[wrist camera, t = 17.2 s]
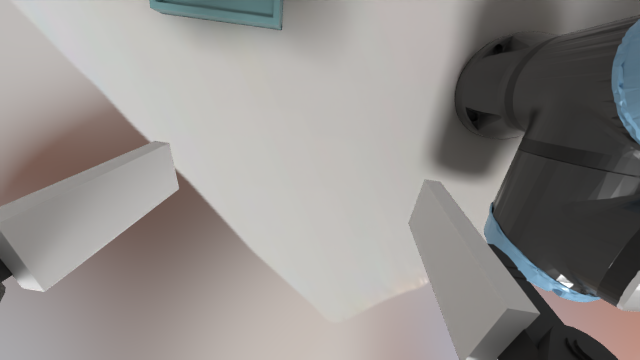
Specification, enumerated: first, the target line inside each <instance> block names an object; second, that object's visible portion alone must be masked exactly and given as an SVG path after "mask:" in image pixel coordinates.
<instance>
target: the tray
mask: <svg viewBox="0 0 640 360" xmlns="http://www.w3.org/2000/svg"><path fill="white" fill-rule="evenodd" d="M149 1H150V8H152V9H154V10H156V11H158V12H160V13H162V14H169V15H176V16H183V17H190V18H198V19H205V20H212V21H220V22H227V23H234V24H241V25H249V26H256V27H263V28H270V29H278V30H282V15H283V0H149Z"/></svg>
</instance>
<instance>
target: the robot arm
mask: <svg viewBox="0 0 640 360" xmlns="http://www.w3.org/2000/svg"><path fill="white" fill-rule="evenodd" d="M455 106H456V111H457V114H458V116H459V118H460V120H461V122H462V123H463V124H464V126H465V127H466V128H467V129H469V130H470V131H472V132H473V133H475V134H478V135H481V136H485V137H489V138H494V139H507V138H513V137H519V136H523V139H522V141H521V143H520V145H519V147H518V150H517V152H516V154H515V156H514V158H513V161H512V163H511V165H510V167H509V169H508V172H507V174H506V176H505V178H504V180H503V182H502V185H501V187H500V189H499V191H498V193H497V196H496V198H495V200H494V201H493V202H492V203H491V205H490V210H489V211H490V213H489V216H488V219H487V221H486V224H485V227H484V235H485V237H486V240H487V243H486V241H485V240H484V239H483V237H482V236H481V235H480V233H479V232H478V231H477V229H476V228H475V227H474V226H473V224H472V223H471V222H470V220H469V219H468V218H467V216H466V215H465V214H464V212H463V211H462V210H461V208H460V207H459V206H458V204H457V203H456V202H455V200H454V199H453V198H452V197H451V195H450V194H449V193H448V191H447V190H446V189H445V187H444V186H443V185H442V183H441V182H438V181H431V180H424V183H423V185H422V188H421V191H420V193H419V196H418V199H417V201H416V204H415V207H414V210H413V212H412V215H411V218H410V220H409V223H408V224H409V226H410V229H411V232H412V234H413V237H414V240H415V242H416V245H417V248H418V250H419V253H420V256H421V259H422V261H423V264H424V267H425V269H426V272H427V275H428V277H429V280H430V283H431V285H432V288H433V291H434V293H435V296H436V299H437V302H438V304H439V307H440V310H441V312H442V315H443V318H444V320H445V323H446V326H447V328H448V331H449V334H450V336H451V339H452V342H453V344H454V347H455V350H456V353H457V355H458V358H459V360H497V359H498V360H618V359H617V358H616V356H614V355H613V354H612V353H611V352H610V351H609V350H608V349H607V348H606V347H605V346H603V345H602V344H601V343H599V342H598V341H597V340H595V339H594V338H592V337H591V336H589V335H588V334H586V333H584V332H582V331H580V330H578V329H576V328H574V327H570V326H566V325H564V323H563V322H562V321H561V320H560V319H559V318H558V316H557V315H556V314H555V312H554V311H553V310H552V309H551V308H550V306H549V305H548V304H547V303H546V302H545V300H544V299H543V298H542V297H541V295H540V294H539V293H538V292H537V290H536V289H535V288H534V287H533V286H532V284H534V285H536V286H538V287H540V288H542V289H544V290H546V291H550V290H552V291H553V292H554V293H556V294H557V295H558V296H559V297H563V298H565V299H568V300H572V301H577V302H590V301H593V300H598V299H603V300H605V301H607V302H608V303H610V304H612V305H614V306H615V307H617V308H619V309H621V310H623V311H639V312H640V15H637V16H634V17H630V18H626V19H622V20H618V21H614V22H611V23H607V24H603V25H599V26H595V27H592V28H588V29H584V30H580V31H576V32H572V33H569V34H565V35H554V34H547V33H541V32H520V33H515V34H512V35H509V36H506V37H503V38H500V39H497V40H495V41H493V42H491V43H489V44H488V45H486V46H485V47H483V48H482V49H481V50H480V51H478V52H477V53H476V54H475V55H474V56H473V57H472V59H471V60H470V61H469V62H468V64H467V65H466V67H465V68H464V70H463V72H462V74H461V76H460V78H459V81H458V84H457V87H456V93H455ZM178 189H179V186H178V182H177V177H176V172H175V168H174V163H173V159H172V154H171V149H170V145H169V143H165V142H158V141H154V142H152V143H149V144H147V145H145V146H142V147H140V148H138V149H135V150H133V151H130V152H128V153H126V154H123V155H121V156H119V157H116V158H114V159H112V160H110V161H107V162H105V163H102V164H100V165H98V166H95V167H93V168H91V169H88V170H86V171H83V172H81V173H79V174H76V175H74V176H72V177H70V178H67V179H65V180H62V181H60V182H57V183H55V184H53V185H51V186H48V187H46V188H44V189H41V190H39V191H36V192H34V193H32V194H29V195H27V196H25V197H22V198H20V199H18V200H15V201H13V202H11V203H8V204H6V205H3V206H1V207H0V301H1V299H2V297H3V295H4V293H5V286H4V285H3V284H2V283H1V282H2V281H4V280H5V279H7V278H8V277H10V276H12V275H13V277H14V278H15V279H16V281H17V282H18V283H19V284H20V286H21V287H22V288H25V289H31V290H37V291H43V292H45V291H46V290H48V289H49V288H50V287H52V286H53V285H54V284H55V283H57V282H58V281H59V280H61V279H62V278H63V277H65V276H66V275H67V274H69V273H70V272H71V271H72V270H74V269H75V268H76V267H78V266H79V265H80V264H81V263H83V262H84V261H85V260H87V259H88V258H89V257H91V256H92V255H93V254H95V253H96V252H97V251H99V250H100V249H101V248H102V247H104V246H105V245H106V244H107V243H109V242H110V241H112V240H113V239H114V238H115V237H117V236H118V235H119V234H120V233H122V232H123V231H125V230H126V229H127V228H128V227H130V226H131V225H132V224H134V223H135V222H136V221H138V220H139V219H140V218H141V217H143V216H144V215H145V214H147V213H148V212H149V211H150V210H152V209H153V208H154V207H156V206H157V205H158V204H160V203H161V202H162V201H164V200H165V199H166V198H168V197H169V196H170V195H171V194H173V193H174V192H175V191H176V190H178ZM530 282H531V283H532V284H531V283H530Z"/></svg>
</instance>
